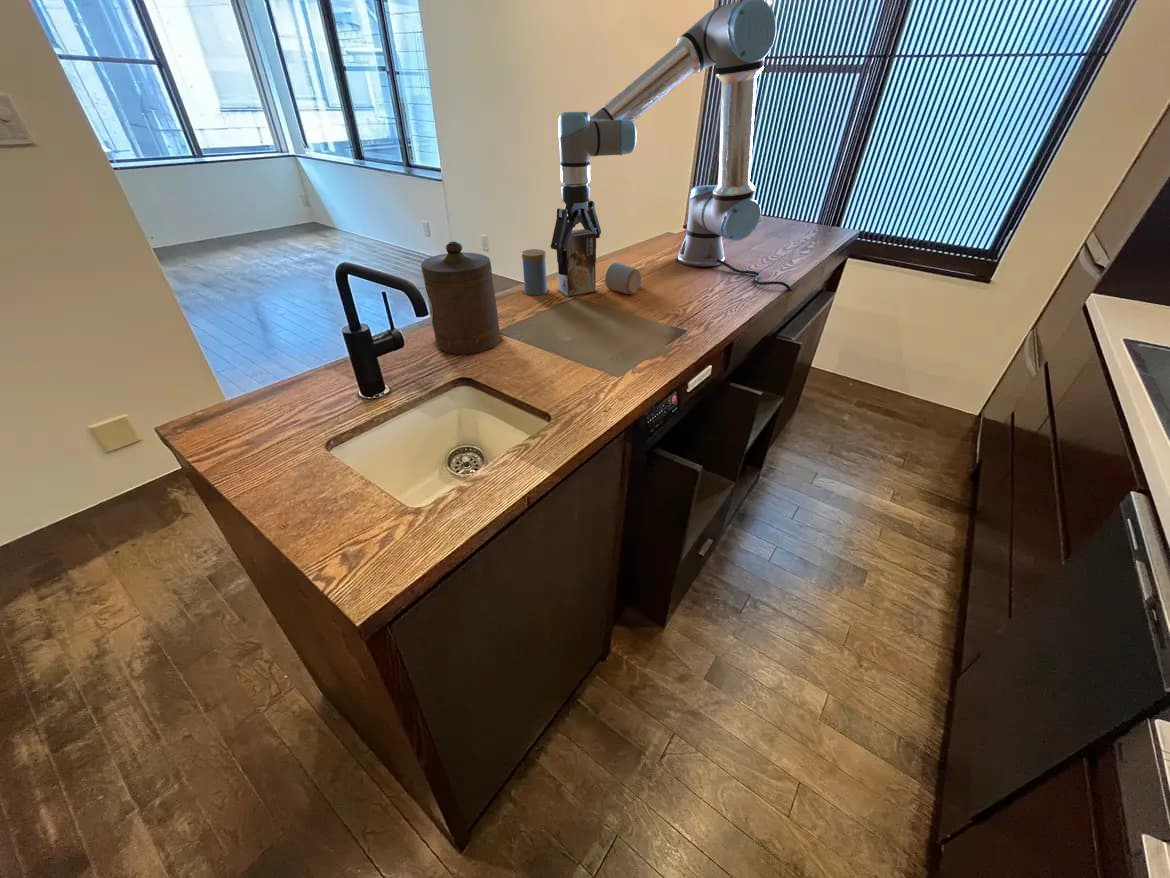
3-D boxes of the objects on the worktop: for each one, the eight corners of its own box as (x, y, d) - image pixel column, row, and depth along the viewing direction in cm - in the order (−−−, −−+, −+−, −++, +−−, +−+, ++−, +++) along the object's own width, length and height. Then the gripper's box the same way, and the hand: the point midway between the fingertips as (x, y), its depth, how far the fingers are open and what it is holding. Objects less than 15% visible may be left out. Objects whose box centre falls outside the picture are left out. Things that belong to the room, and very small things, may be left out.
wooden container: (458, 324, 121) (442, 231, 108) (511, 332, 117) (501, 236, 104) (423, 349, 109) (400, 248, 96) (480, 358, 105) (465, 255, 92)
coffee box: (585, 285, 144) (585, 228, 135) (596, 291, 140) (596, 233, 130) (558, 290, 141) (555, 232, 131) (567, 296, 136) (566, 237, 127)
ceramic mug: (627, 298, 135) (629, 270, 130) (604, 292, 139) (605, 264, 135) (647, 288, 142) (650, 261, 137) (624, 283, 146) (626, 257, 141)
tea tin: (552, 290, 141) (550, 251, 134) (537, 297, 136) (534, 257, 130) (534, 286, 144) (531, 247, 137) (519, 292, 139) (516, 253, 133)
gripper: (591, 176, 134) (591, 255, 146) (533, 190, 117) (539, 277, 130) (614, 178, 130) (612, 259, 143) (557, 193, 114) (561, 282, 126)
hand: (577, 268), depth 136 cm, fingers open, 13 cm apart
